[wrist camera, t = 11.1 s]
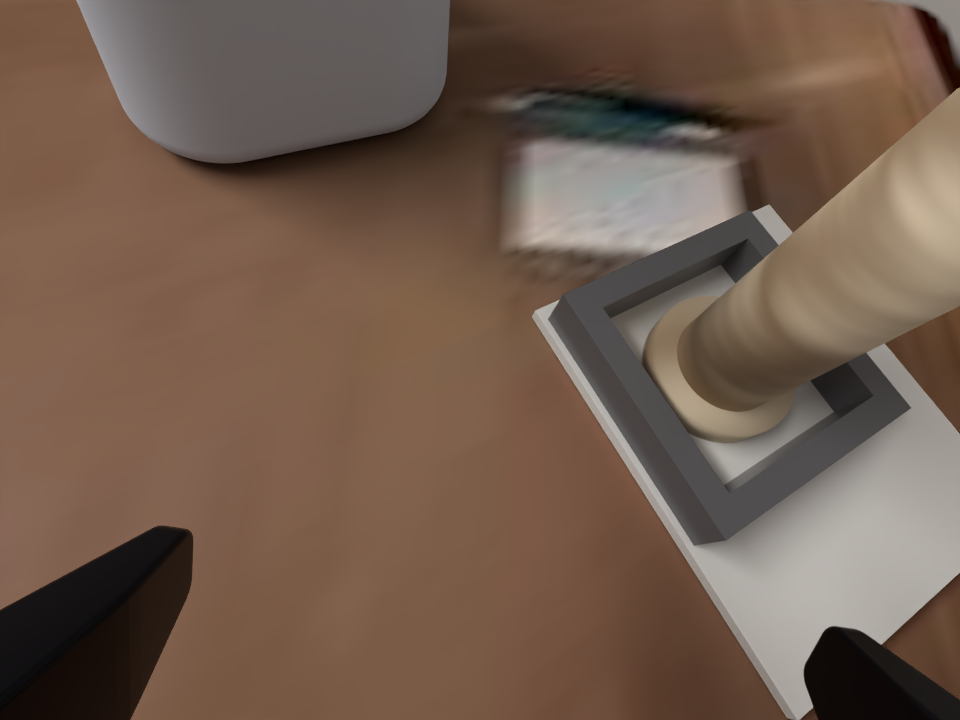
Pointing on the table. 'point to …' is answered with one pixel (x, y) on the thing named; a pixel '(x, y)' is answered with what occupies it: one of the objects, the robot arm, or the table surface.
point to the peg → (821, 291)
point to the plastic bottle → (270, 70)
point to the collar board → (774, 466)
